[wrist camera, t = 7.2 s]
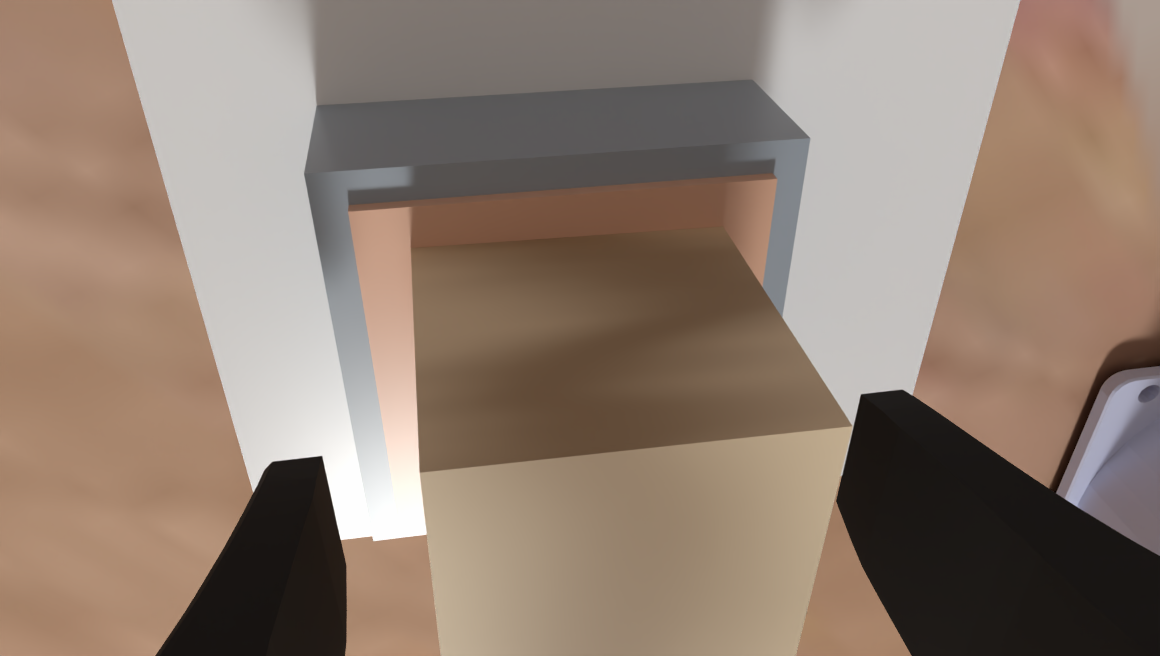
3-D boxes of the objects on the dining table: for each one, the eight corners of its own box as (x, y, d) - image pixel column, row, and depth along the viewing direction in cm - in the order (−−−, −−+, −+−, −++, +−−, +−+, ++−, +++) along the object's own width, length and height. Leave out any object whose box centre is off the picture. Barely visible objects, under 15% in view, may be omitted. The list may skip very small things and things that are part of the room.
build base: (1027, -99, 14) (1168, -58, 12) (882, 454, 21) (951, 558, 19) (103, -71, 12) (27, -13, 10) (272, 531, 19) (253, 659, 17)
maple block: (723, 226, 13) (853, 426, 9) (695, 455, 16) (788, 682, 12) (410, 248, 12) (419, 472, 9) (434, 484, 15) (449, 734, 11)
